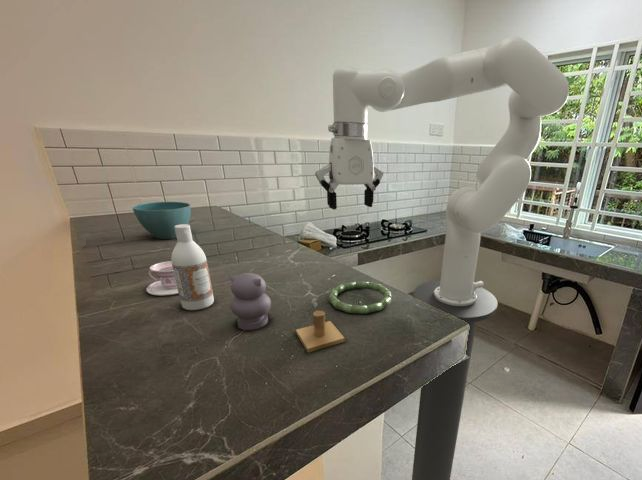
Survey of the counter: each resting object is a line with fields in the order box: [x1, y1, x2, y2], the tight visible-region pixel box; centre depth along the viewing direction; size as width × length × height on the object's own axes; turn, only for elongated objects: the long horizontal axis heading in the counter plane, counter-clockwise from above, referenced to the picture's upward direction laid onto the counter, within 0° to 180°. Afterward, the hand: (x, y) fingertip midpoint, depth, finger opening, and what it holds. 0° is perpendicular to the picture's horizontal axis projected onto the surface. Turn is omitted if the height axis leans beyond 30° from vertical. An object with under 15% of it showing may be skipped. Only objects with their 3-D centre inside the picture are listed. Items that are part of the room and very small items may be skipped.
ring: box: [327, 281, 393, 315], centre depth 87 cm, size 17×17×2 cm
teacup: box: [145, 260, 179, 297], centre depth 87 cm, size 12×12×6 cm
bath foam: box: [170, 224, 215, 311], centre depth 76 cm, size 7×7×20 cm
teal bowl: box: [132, 201, 192, 240], centre depth 127 cm, size 18×18×12 cm
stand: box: [295, 310, 346, 354], centre depth 69 cm, size 8×8×6 cm
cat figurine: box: [227, 272, 272, 331], centre depth 72 cm, size 8×8×12 cm
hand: (351, 207), depth 80 cm, fingers open, 9 cm apart
